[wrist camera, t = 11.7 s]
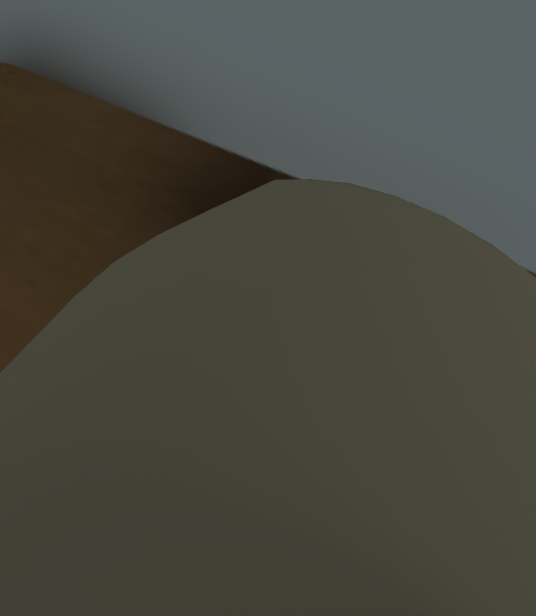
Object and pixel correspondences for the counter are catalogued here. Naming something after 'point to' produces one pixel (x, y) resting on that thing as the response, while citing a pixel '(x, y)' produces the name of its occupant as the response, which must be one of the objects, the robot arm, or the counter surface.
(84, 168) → the counter surface
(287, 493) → the handle
